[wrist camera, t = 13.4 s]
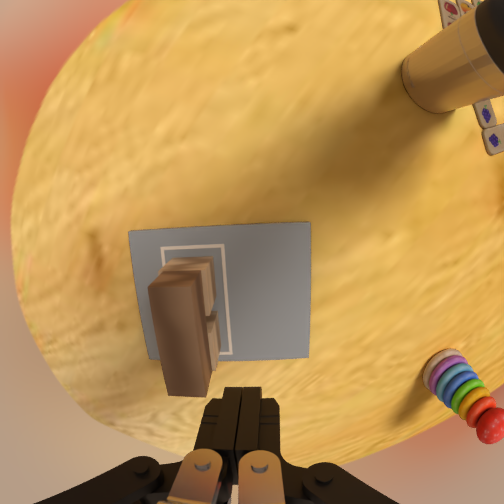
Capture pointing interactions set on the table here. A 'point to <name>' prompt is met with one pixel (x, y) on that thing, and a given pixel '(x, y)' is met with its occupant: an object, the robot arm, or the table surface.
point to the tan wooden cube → (206, 271)
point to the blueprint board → (239, 284)
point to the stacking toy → (464, 394)
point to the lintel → (181, 332)
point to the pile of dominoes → (493, 135)
